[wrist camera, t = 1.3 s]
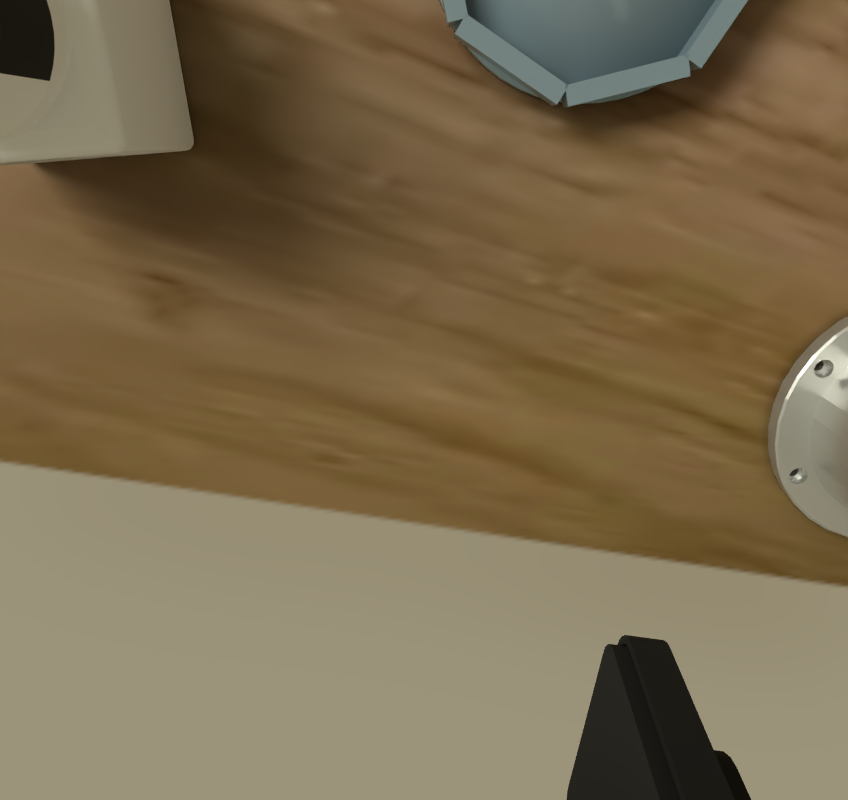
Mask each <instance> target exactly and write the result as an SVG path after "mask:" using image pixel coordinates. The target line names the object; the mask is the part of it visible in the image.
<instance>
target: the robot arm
mask: <svg viewBox="0 0 848 800" xmlns="http://www.w3.org/2000/svg"><path fill="white" fill-rule="evenodd" d="M818 362H819V363H818ZM817 363H818V365H817V366H816V364H817ZM815 366H816V367H815ZM768 452H769V457H770V461H771V466H772V470H773V472H774V474H775V476H776V479H777V481H778V483H779V485H780V487H781V489H782V490H783V491H784V493H785V494H786V495H787V496H788V497H789V499H790V500H791V501H792V502H793V504H794V505H795V506H796V507H797V508H799V509H800V510H801V511H802V512H803V513H804V514H805V515H806V516H807V517H808V518H809V519H810V520H812V521H814V522H815V523H817V524H818V525H820V526H822V527H823V528H825V529H827V530H829V531H831V532H834V533H837V534H840V535H842V536H845V537H848V316H847V317H845V318H844V319H842V320H840V321H838V322H837V323H836V324H834V325H833V326H832V327H831V328H829V329H828V330H827V331H825V332H824V333H823V334H822V335H820V336H819V337H818V338H817V339H815V341H814V342H813V343H812V344H811V345H810V346H809V347H808V348H807V349H806V350H805V351H804V353H803V354H802V355H801V356H800V357H799V358H798V359H797V360H796V362H795V363H794V365H793V367H792V368H791V370H790V371H789V373H788V374H787V376H786V377H785V379H784V380H783V382H782V384H781V387H780V389H779V392H778V394H777V396H776V399H775V401H774V403H773V407H772V412H771V416H770V421H769V425H768ZM567 800H751V798H750V796H749V794H748V792H747V790H746V787H745V785H744V783H743V781H742V778H741V776H740V774H739V772H738V769H737V768H736V766H735V764H734V763H733V761H732V759H731V757H729V756H728V755H727V754H726V753H725V752H723V751H715V750H713V748H712V745H711V743H710V741H709V738H708V736H707V734H706V731H705V729H704V726H703V724H702V722H701V720H700V718H699V715H698V712H697V710H696V708H695V705H694V704H693V701H692V698H691V696H690V694H689V691H688V689H687V687H686V684H685V682H684V679H683V677H682V675H681V672H680V670H679V668H678V665H677V663H676V661H675V658H674V656H673V654H672V652H671V649H670V647H669V645H668V644H667V642H665V641H664V640H658V639H650V638H642V637H635V636H628V635H624V636H622V637H621V639H620V640H619V643H618V645H612V644H608V645H607V646H606V647H605V650H604V653H603V657H602V660H601V664H600V668H599V672H598V676H597V679H596V683H595V687H594V691H593V696H592V699H591V702H590V706H589V710H588V714H587V718H586V721H585V725H584V729H583V733H582V737H581V741H580V744H579V748H578V752H577V756H576V760H575V764H574V768H573V772H572V775H571V779H570V783H569V787H568V792H567Z"/></svg>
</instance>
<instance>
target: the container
mask: <svg viewBox="0 0 848 800" xmlns="http://www.w3.org/2000/svg"><path fill="white" fill-rule="evenodd" d="M193 145H194V138H193V132H192V126H191V121H190V115H189V109H188V104H187V98H186V92H185V87H184V81H183V75H182V69H181V64H180V58H179V52H178V47H177V41H176V35H175V30H174V24H173V18H172V13H171V7H170V1H169V0H0V165H10V164H30V163H42V162H54V161H67V160H79V159H91V158H104V157H116V156H128V155H140V154H153V153H165V152H177V151H187V150H189V149H191V148H192V146H193Z"/></svg>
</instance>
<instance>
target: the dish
mask: <svg viewBox="0 0 848 800" xmlns="http://www.w3.org/2000/svg"><path fill="white" fill-rule="evenodd" d="M439 1H440V4H441V6H442V9H443V11H444V14H445V18H446V23H447V27H451V26H452V28H453V30H454V32H455V35H454V38H455V39H456V40H458V41H459V42H461V43H462V44H464V46H465V47H466V49H467V50H468V51H469V52H470V53H471V54H472V55H473V56H474V57H475V59H476V60H477V61H478V62H479V63H480V64H481V65H482V66H483V67H484V68H486V69H487V70H488V71H489V72H491V73H492V74H493V75H494V76H496V77H497V78H498V79H500V80H501V81H503V82H505V83H506V84H508V85H510V86H511V87H513V88H515V89H516V90H519V91H521V92H524V93H526V94H528V95H531V96H533V97H536V98H540V99H543V100H544V101H546V102H547V103H548V104H550V105H551V106H554V105H557V104H558V103H563V108H566V107H570V106H574V105H578V104H597V103H602V102H608V101H614V100H619V99H623V98H626V97H629V96H632V95H635V94H638V93H641V92H644V91H646V90H648V89H650V88H652V87H655V86H657V85H659V84H661V83H665V82H669V81H673V80H677V79H681V78H685V77H689V76H690V71H694V70H697V69H701V68H702V67H703V65H704V64H705V62H706V61H707V59H708V58H709V56H710V55H711V53H712V52H713V51H714V49H715V48H716V46H717V45H718V43H719V42H720V40H721V39H722V37H723V36H724V35H725V33H726V32H727V30H728V29H729V27H730V26H731V24H732V23H733V21H734V20H735V19H736V17H737V16H738V14H739V13H740V11H741V10H742V8H743V7H744V5H745V4H746V3H747V1H748V0H439Z"/></svg>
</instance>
